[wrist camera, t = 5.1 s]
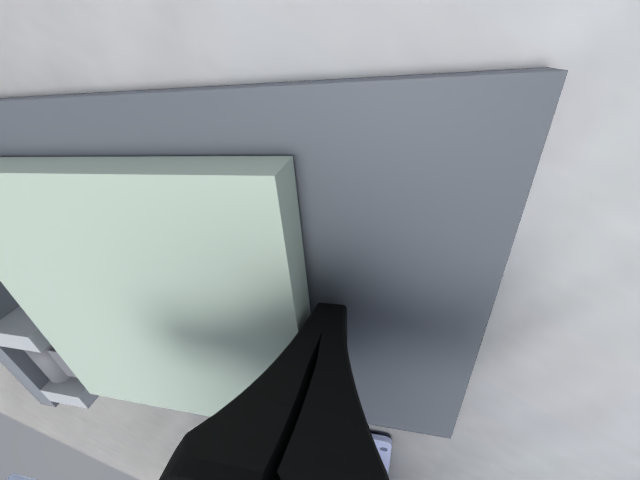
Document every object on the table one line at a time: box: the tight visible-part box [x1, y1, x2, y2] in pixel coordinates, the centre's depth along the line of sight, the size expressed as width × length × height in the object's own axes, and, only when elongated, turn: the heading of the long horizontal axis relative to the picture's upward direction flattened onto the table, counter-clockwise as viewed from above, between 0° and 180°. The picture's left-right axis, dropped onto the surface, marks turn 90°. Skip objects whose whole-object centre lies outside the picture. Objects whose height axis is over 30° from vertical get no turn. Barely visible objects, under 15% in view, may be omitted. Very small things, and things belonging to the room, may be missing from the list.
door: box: [0, 156, 311, 417], centre depth 15 cm, size 14×17×2 cm
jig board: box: [0, 67, 568, 439], centre depth 14 cm, size 18×26×4 cm
